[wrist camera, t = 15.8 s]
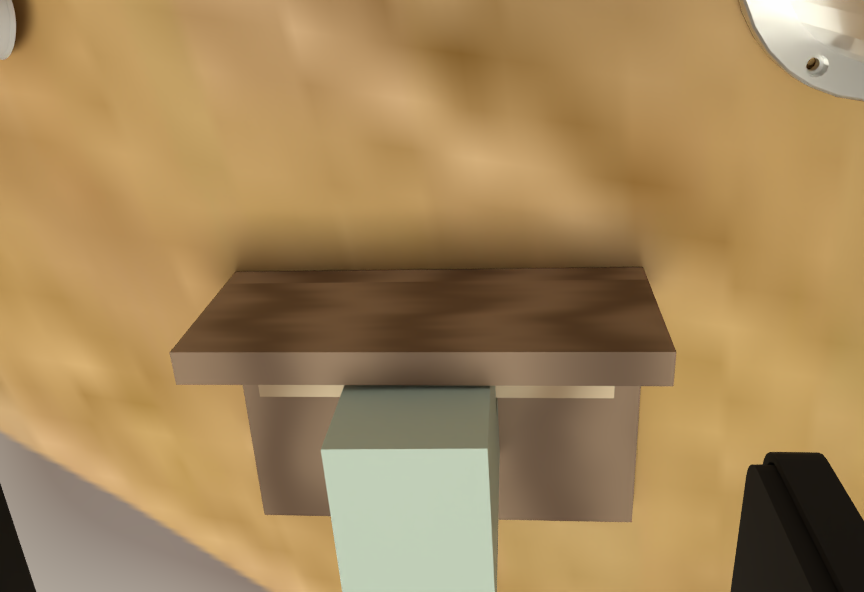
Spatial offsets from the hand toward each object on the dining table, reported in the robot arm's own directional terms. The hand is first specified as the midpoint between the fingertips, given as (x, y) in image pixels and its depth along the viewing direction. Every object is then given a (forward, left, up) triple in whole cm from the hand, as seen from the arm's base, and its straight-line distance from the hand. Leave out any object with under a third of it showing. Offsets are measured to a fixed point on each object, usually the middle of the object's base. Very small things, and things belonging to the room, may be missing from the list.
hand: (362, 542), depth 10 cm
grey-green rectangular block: (+2, +14, -27) cm, 30 cm away
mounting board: (+2, +15, -28) cm, 32 cm away
